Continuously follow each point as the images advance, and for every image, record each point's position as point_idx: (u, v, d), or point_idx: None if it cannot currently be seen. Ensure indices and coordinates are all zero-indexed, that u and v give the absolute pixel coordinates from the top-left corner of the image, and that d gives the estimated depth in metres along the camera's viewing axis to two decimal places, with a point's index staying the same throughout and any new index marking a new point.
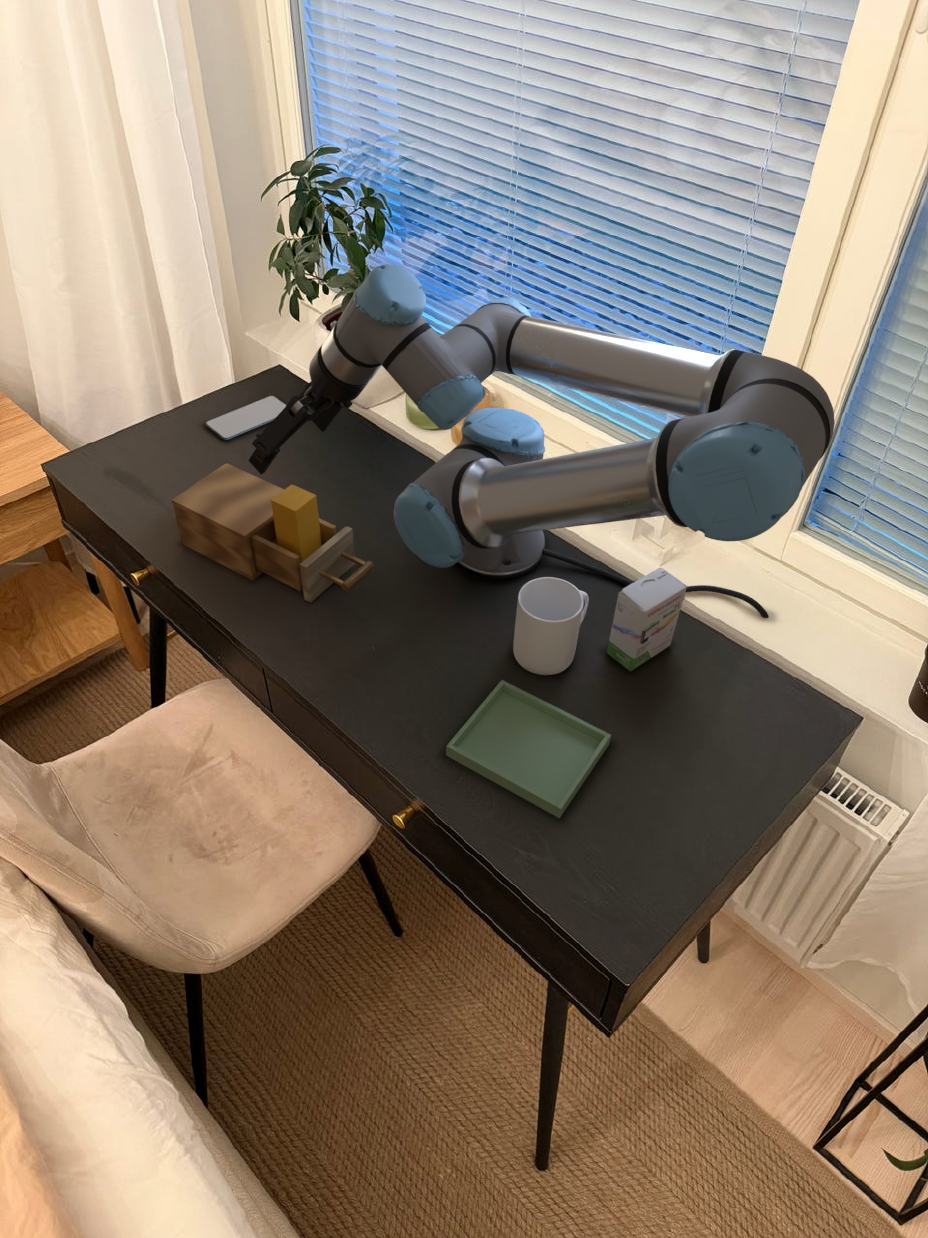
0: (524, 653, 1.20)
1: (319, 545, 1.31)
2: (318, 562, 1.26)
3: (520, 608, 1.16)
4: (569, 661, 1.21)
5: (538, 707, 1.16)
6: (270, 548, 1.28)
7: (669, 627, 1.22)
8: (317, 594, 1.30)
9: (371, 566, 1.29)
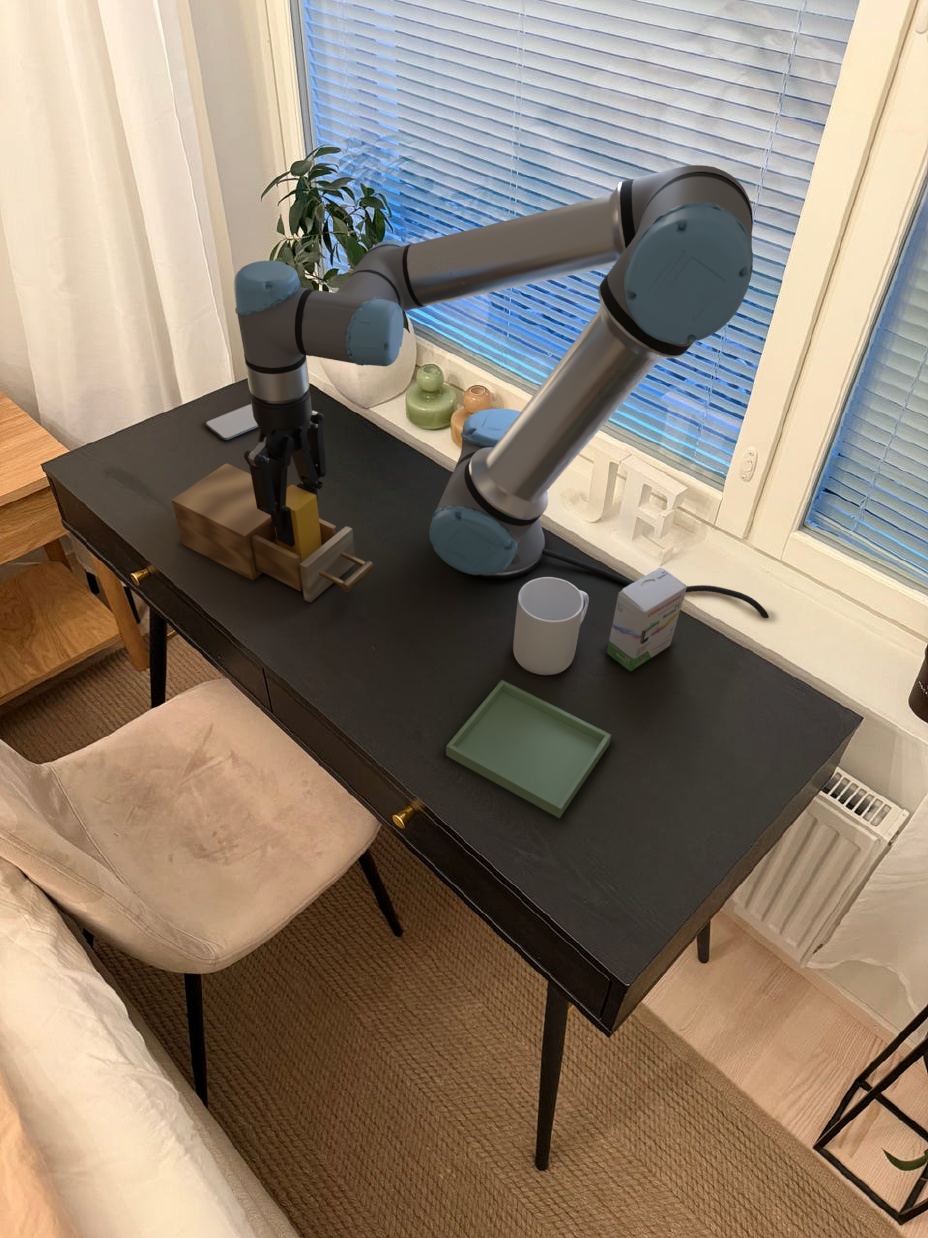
0: (524, 653, 1.20)
1: (319, 545, 1.31)
2: (318, 562, 1.26)
3: (520, 607, 1.16)
4: (569, 661, 1.21)
5: (538, 707, 1.16)
6: (270, 548, 1.28)
7: (669, 627, 1.22)
8: (317, 594, 1.30)
9: (371, 566, 1.29)
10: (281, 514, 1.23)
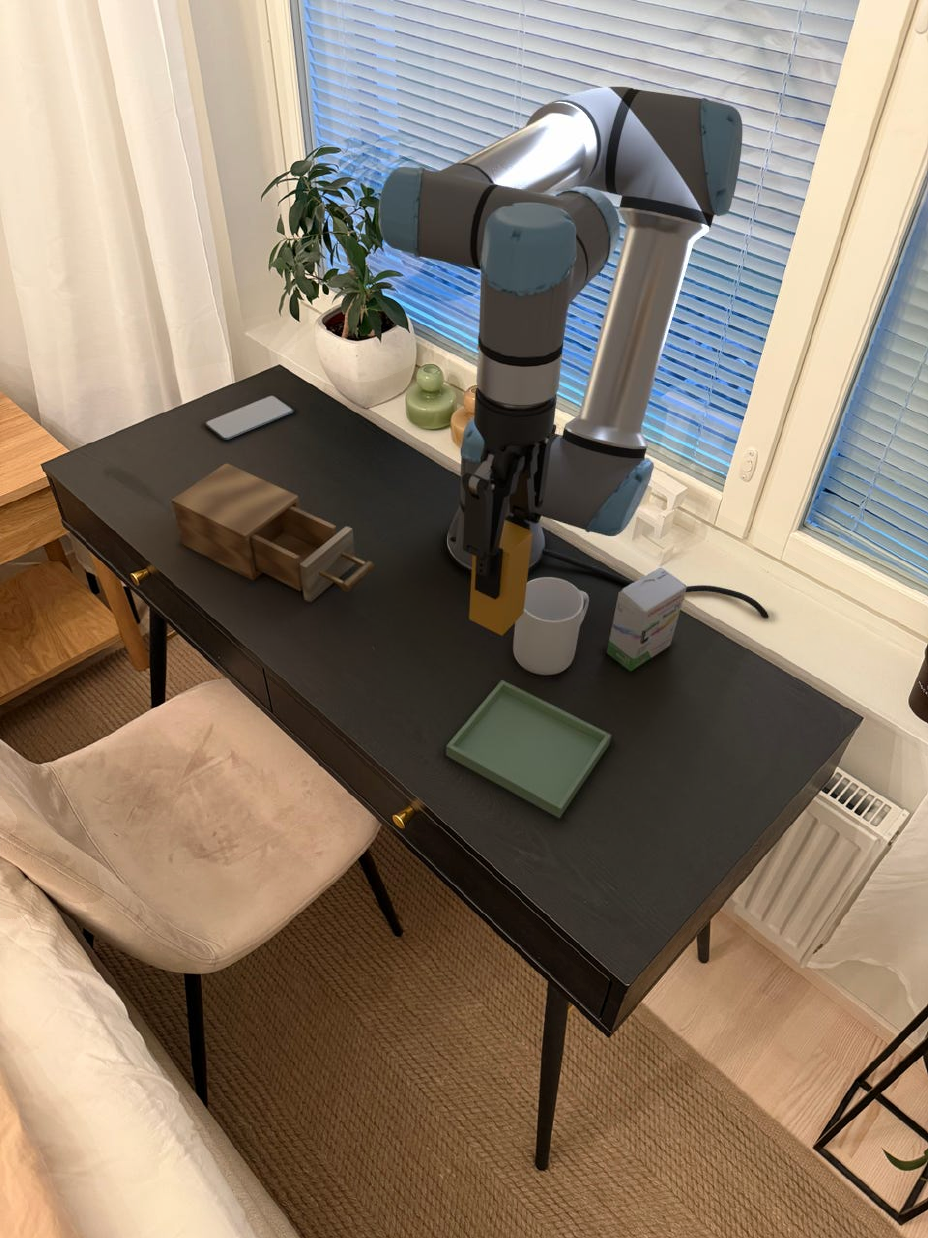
0: (524, 653, 1.20)
1: (523, 596, 1.00)
2: (318, 562, 1.26)
3: None
4: (569, 661, 1.21)
5: (538, 707, 1.16)
6: (270, 548, 1.28)
7: (669, 627, 1.22)
8: (317, 594, 1.30)
9: (371, 566, 1.29)
10: (491, 557, 0.91)
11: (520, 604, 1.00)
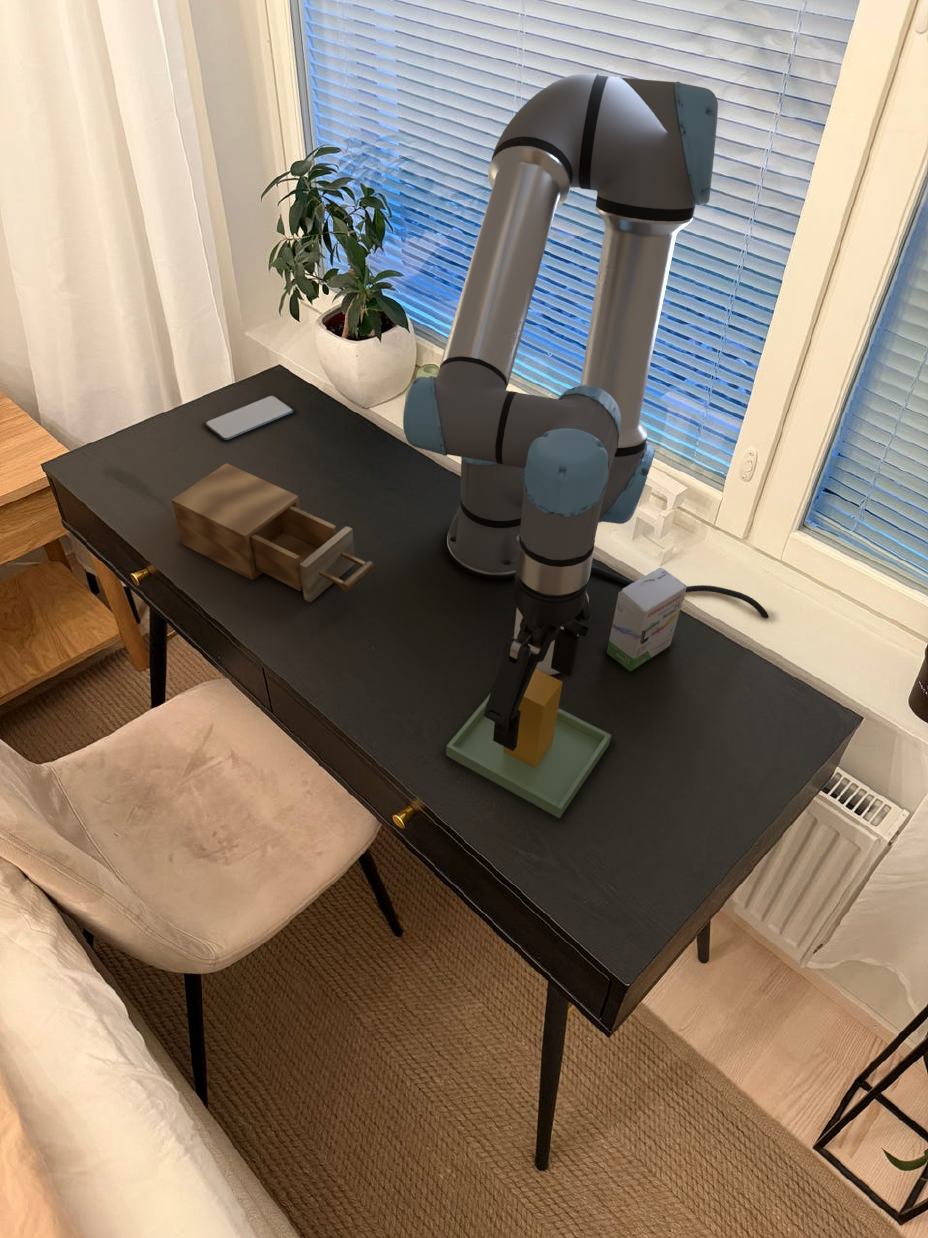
0: None
1: (552, 731, 1.10)
2: (318, 562, 1.26)
3: None
4: None
5: None
6: (270, 548, 1.28)
7: (669, 627, 1.22)
8: (317, 594, 1.30)
9: (371, 566, 1.29)
10: (509, 719, 0.97)
11: (550, 738, 1.11)
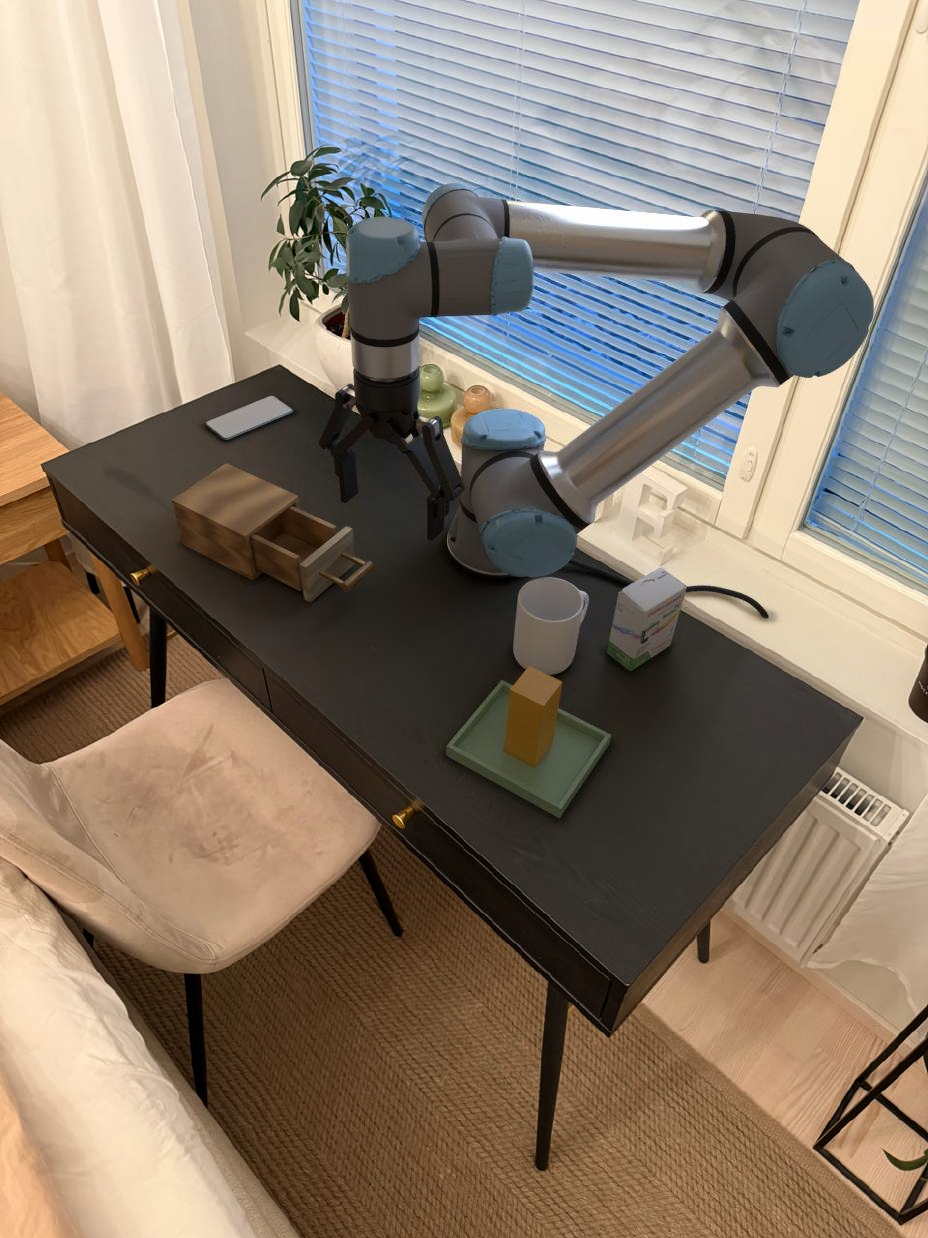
0: (524, 653, 1.20)
1: (552, 731, 1.10)
2: (318, 562, 1.26)
3: (520, 607, 1.16)
4: (569, 661, 1.21)
5: None
6: (270, 548, 1.28)
7: (669, 627, 1.22)
8: (317, 594, 1.30)
9: (371, 566, 1.29)
10: (337, 460, 1.13)
11: (550, 738, 1.11)
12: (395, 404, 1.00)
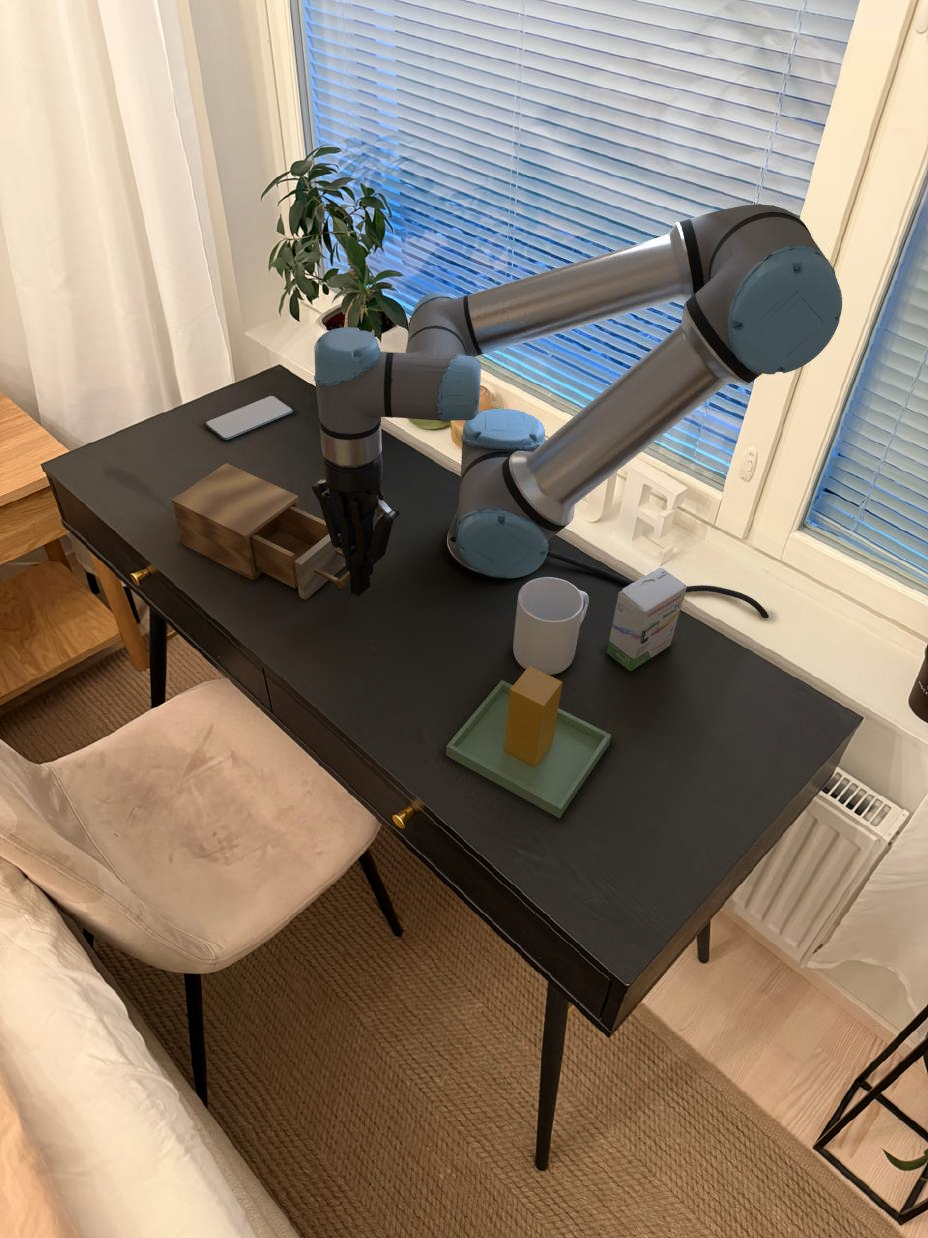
0: (524, 653, 1.20)
1: (552, 731, 1.10)
2: (313, 559, 1.27)
3: (520, 607, 1.16)
4: (569, 661, 1.21)
5: None
6: (265, 546, 1.28)
7: (669, 627, 1.22)
8: (312, 591, 1.30)
9: None
10: (348, 558, 1.25)
11: (550, 738, 1.11)
12: (359, 486, 1.12)
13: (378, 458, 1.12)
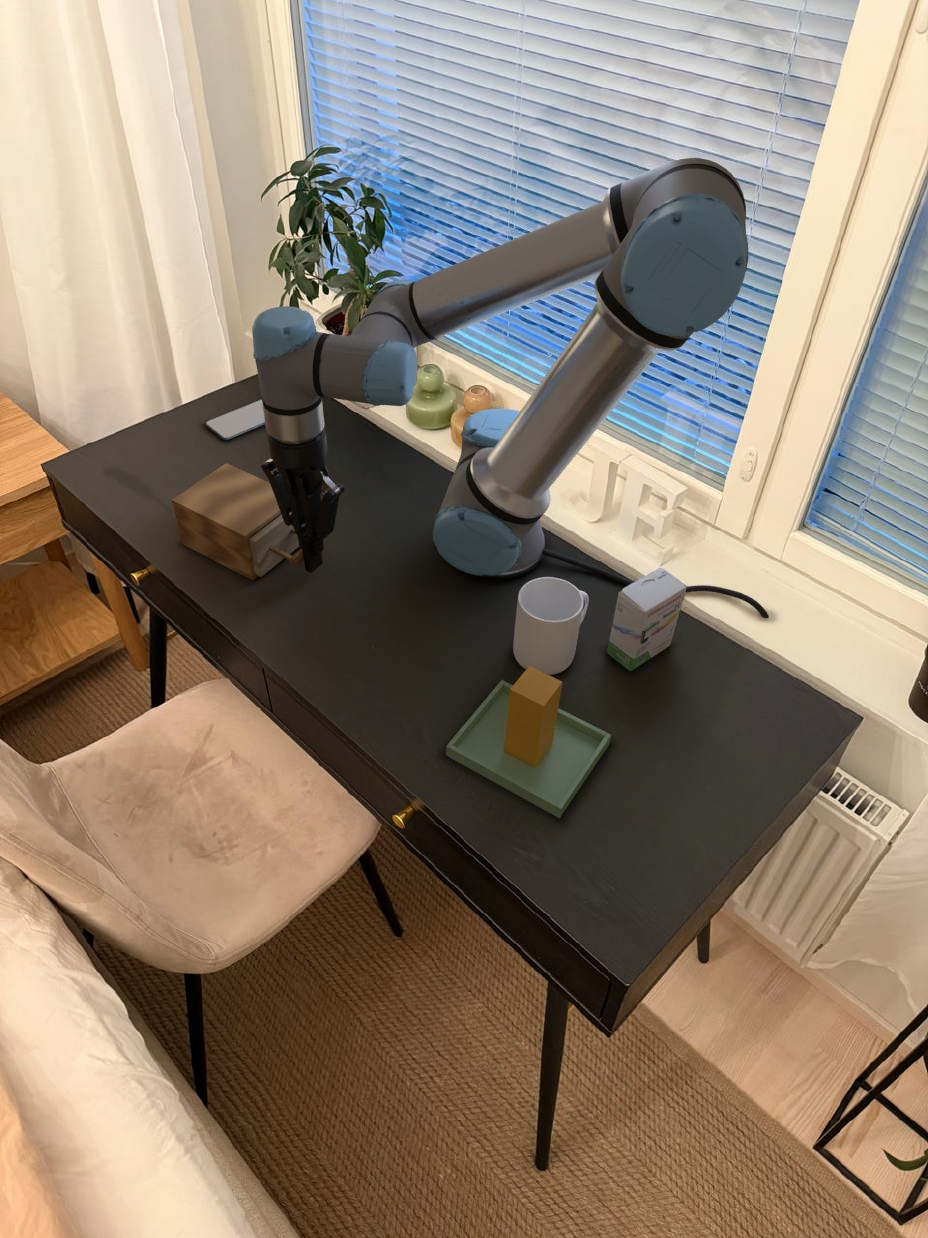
0: (524, 653, 1.20)
1: (552, 731, 1.10)
2: (268, 537, 1.30)
3: (520, 608, 1.16)
4: (569, 661, 1.21)
5: None
6: None
7: (669, 627, 1.22)
8: (268, 569, 1.33)
9: None
10: (300, 535, 1.28)
11: (550, 738, 1.11)
12: (303, 462, 1.15)
13: (321, 435, 1.15)
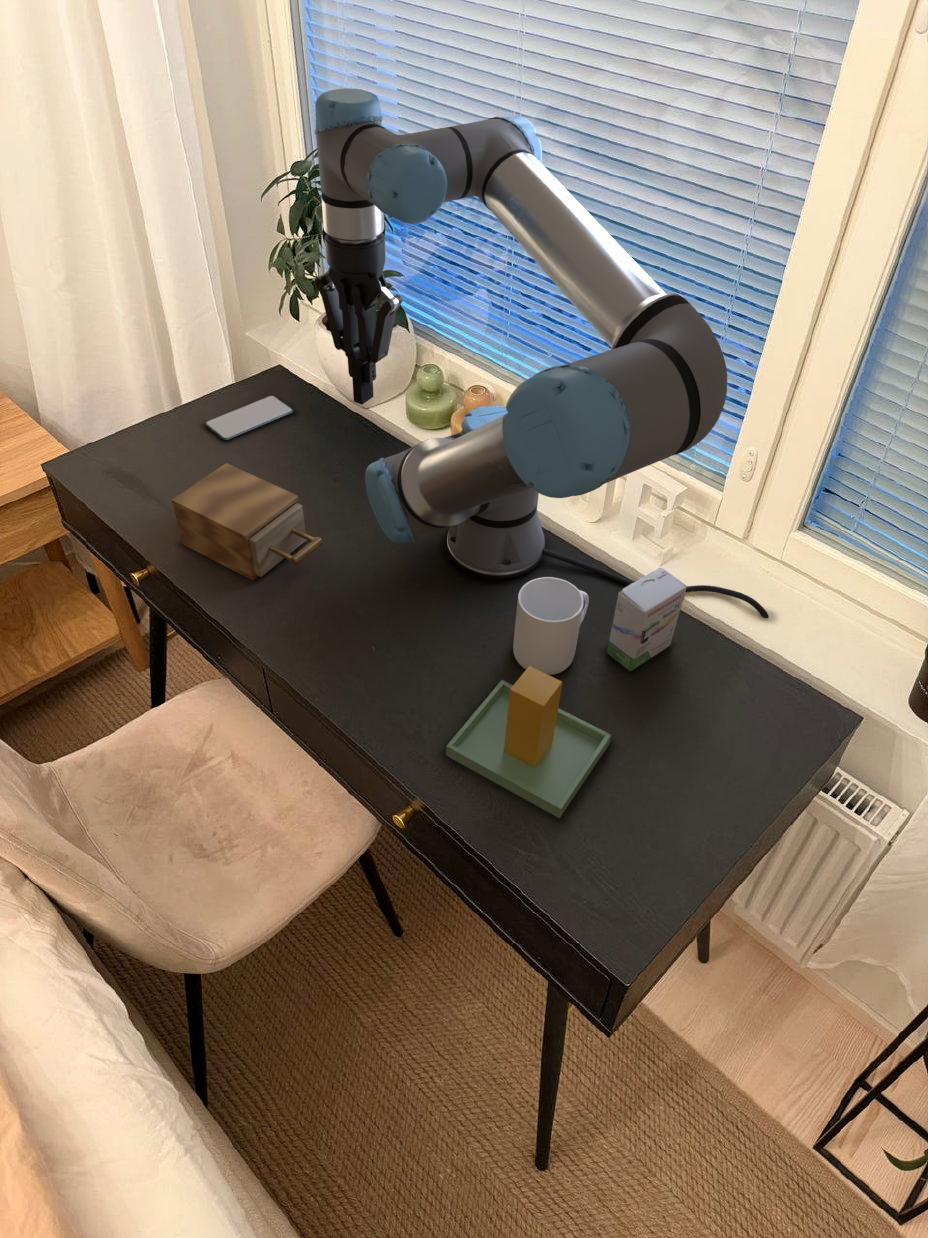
0: (524, 653, 1.20)
1: (552, 731, 1.10)
2: (268, 537, 1.30)
3: (520, 607, 1.16)
4: (569, 661, 1.21)
5: None
6: None
7: (669, 627, 1.22)
8: (268, 569, 1.33)
9: (320, 541, 1.32)
10: (351, 361, 1.24)
11: (550, 738, 1.11)
12: (362, 266, 1.11)
13: (380, 238, 1.11)
